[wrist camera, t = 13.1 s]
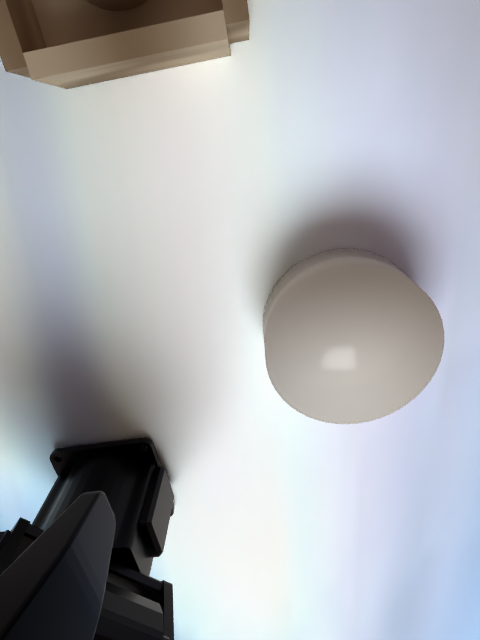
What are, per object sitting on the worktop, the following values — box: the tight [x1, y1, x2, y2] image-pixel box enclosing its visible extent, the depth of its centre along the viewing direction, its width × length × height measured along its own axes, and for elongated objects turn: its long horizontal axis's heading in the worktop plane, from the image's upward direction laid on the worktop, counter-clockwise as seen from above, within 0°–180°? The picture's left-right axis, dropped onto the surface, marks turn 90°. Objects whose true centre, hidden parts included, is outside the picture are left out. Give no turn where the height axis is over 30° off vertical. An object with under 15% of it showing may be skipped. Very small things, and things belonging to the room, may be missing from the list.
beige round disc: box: [263, 248, 444, 424], centre depth 20 cm, size 8×8×4 cm
